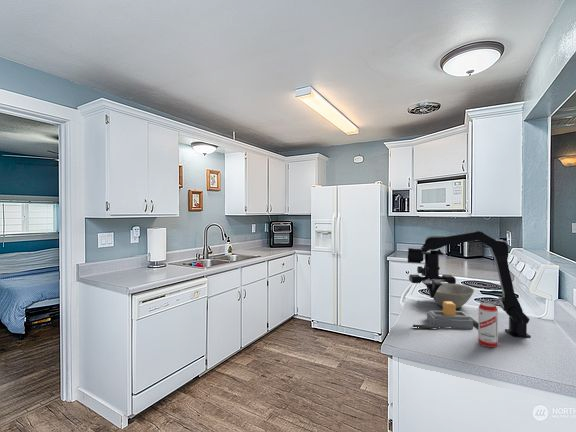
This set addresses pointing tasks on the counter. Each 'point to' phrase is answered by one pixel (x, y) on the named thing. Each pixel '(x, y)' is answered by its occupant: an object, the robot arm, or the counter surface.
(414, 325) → the cord
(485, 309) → the beer can
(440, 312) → the power strip
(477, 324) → the cord
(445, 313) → the knob
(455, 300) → the ceramic bowl
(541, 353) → the counter surface
